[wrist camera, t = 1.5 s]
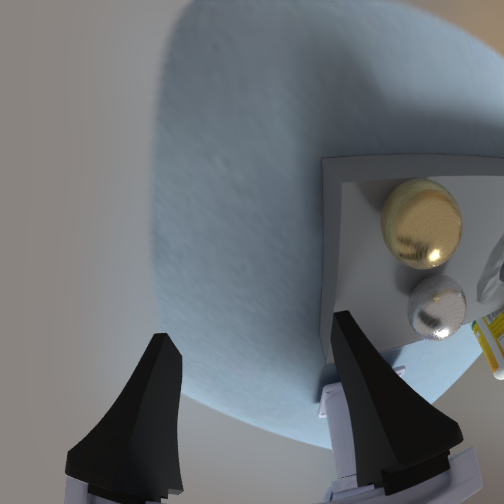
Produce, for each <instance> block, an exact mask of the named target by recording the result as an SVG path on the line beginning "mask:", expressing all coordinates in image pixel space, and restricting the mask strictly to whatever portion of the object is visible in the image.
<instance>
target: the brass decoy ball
mask: <svg viewBox="0 0 504 504" xmlns="http://www.w3.org/2000/svg"><path fill="white" fill-rule="evenodd" d="M380 226H381V233H382V237H383V240H384V243H385V245H386V247H387V248H388V250H389V251H390V253H391V254H392V255H393V256H394V257H395V258H396V259H397V260H398V261H399V262H401V263H402V264H404V265H406V266H408V267H411V268H415V269H431V268H434V267H437V266H439V265H441V264H443V263H444V262H446V261H447V260H448V259H449V258H450V257H451V256H452V255H453V254H454V252H455V251H456V249H457V247H458V245H459V243H460V239H461V236H462V227H463V223H462V215H461V211H460V208H459V206H458V204H457V202H456V200H455V198H454V197H453V196H452V194H451V193H450V192H449V191H448V190H447V189H446V188H445V187H443V186H442V185H440V184H439V183H436V182H434V181H432V180H427V179H412V180H409V181H406V182H404V183H402V184H400V185H399V186H397V187H396V188H395V189H394V190H393V191H392V192H391V193H390V194H389V196H388V197H387V199H386V201H385V203H384V205H383V208H382V212H381V220H380Z"/></svg>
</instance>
